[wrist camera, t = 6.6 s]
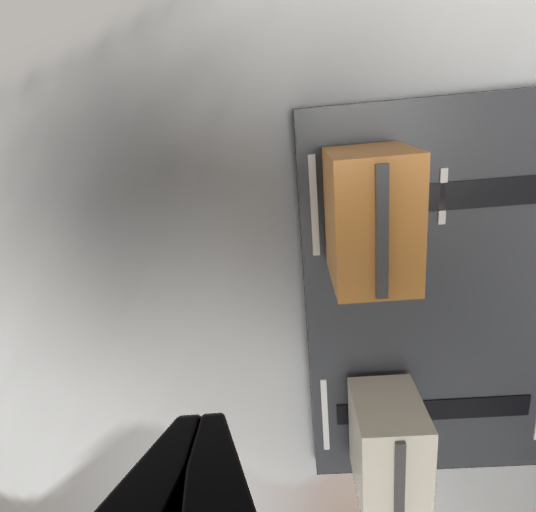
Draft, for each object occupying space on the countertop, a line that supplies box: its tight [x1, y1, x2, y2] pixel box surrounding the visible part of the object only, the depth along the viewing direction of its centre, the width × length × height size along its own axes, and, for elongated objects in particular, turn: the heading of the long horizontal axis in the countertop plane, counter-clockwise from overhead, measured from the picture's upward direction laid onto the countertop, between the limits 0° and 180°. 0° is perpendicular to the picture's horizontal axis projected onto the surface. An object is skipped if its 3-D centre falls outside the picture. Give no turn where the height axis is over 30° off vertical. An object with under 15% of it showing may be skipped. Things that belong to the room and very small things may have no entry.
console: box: [293, 87, 536, 475], centre depth 21 cm, size 12×19×1 cm, turn 5°
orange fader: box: [322, 141, 431, 304], centre depth 16 cm, size 3×5×4 cm, turn 5°
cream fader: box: [347, 374, 438, 512], centre depth 20 cm, size 3×5×4 cm, turn 5°
